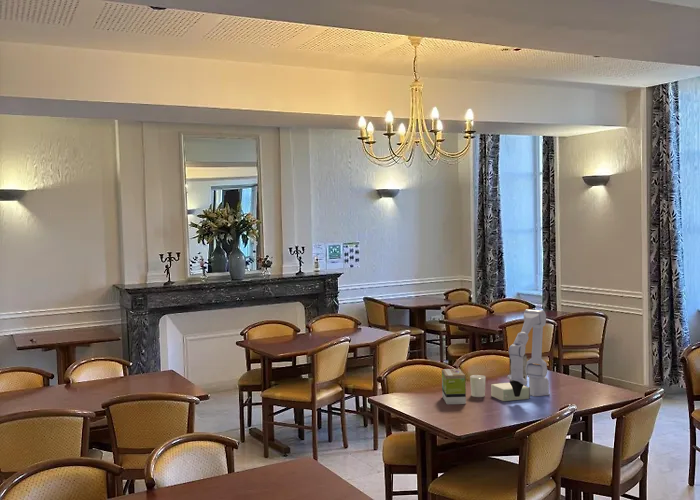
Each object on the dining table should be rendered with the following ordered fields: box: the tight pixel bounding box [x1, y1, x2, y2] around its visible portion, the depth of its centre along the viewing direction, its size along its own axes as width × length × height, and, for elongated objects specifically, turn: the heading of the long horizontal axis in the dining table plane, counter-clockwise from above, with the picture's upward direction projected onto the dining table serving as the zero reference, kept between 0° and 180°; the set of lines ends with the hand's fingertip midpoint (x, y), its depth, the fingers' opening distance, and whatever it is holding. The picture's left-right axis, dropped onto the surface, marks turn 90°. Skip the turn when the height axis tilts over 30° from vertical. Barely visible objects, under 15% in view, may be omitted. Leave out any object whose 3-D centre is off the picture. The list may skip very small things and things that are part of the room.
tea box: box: [441, 368, 467, 405], centre depth 343 cm, size 15×10×15 cm, turn 1°
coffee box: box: [509, 353, 528, 382], centre depth 381 cm, size 9×6×16 cm
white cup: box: [469, 374, 487, 398], centre depth 352 cm, size 8×8×10 cm
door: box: [502, 386, 531, 402], centre depth 341 cm, size 15×2×6 cm, turn 108°
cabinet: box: [490, 382, 528, 402], centre depth 347 cm, size 14×12×6 cm
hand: (517, 396), depth 336 cm, fingers closed
